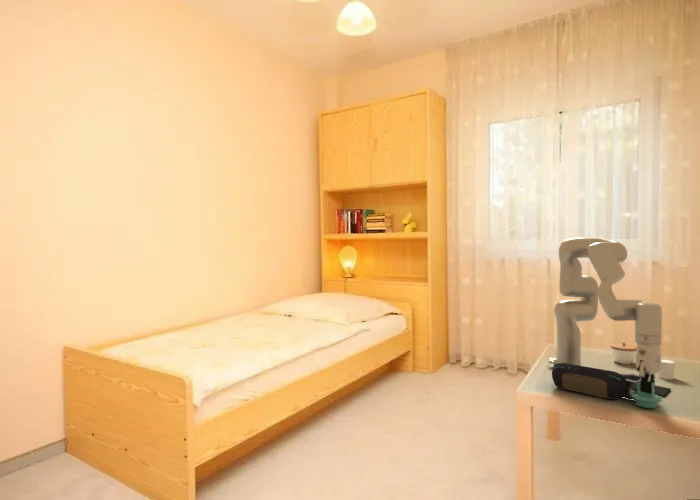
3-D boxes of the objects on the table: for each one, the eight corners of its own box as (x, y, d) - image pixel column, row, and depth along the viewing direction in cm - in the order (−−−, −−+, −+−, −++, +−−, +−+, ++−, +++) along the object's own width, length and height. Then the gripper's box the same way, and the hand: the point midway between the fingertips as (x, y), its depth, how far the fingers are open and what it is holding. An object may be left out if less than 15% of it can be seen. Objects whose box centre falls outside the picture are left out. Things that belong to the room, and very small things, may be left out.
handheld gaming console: (671, 394, 158) (651, 369, 163) (652, 403, 161) (633, 378, 166) (672, 390, 167) (653, 366, 172) (654, 398, 170) (636, 375, 175)
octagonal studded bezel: (612, 395, 161) (612, 377, 161) (624, 389, 167) (624, 371, 167) (644, 404, 153) (644, 384, 153) (655, 397, 159) (655, 378, 159)
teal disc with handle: (626, 404, 151) (626, 381, 151) (636, 399, 156) (636, 376, 156) (656, 411, 144) (655, 387, 144) (665, 405, 149) (665, 382, 149)
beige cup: (678, 380, 179) (679, 363, 178) (660, 379, 180) (660, 362, 180) (670, 375, 185) (670, 359, 185) (652, 374, 187) (652, 358, 187)
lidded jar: (629, 366, 198) (629, 346, 198) (605, 361, 207) (606, 341, 207) (641, 363, 203) (642, 343, 203) (618, 358, 213) (618, 339, 212)
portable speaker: (548, 389, 168) (548, 364, 168) (555, 382, 176) (555, 358, 176) (623, 405, 152) (623, 377, 151) (628, 397, 159) (628, 370, 159)
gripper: (652, 344, 141) (651, 400, 142) (669, 337, 151) (668, 389, 151) (626, 340, 147) (626, 393, 148) (644, 333, 157) (643, 384, 157)
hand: (647, 391), depth 150 cm, fingers closed on teal disc with handle
